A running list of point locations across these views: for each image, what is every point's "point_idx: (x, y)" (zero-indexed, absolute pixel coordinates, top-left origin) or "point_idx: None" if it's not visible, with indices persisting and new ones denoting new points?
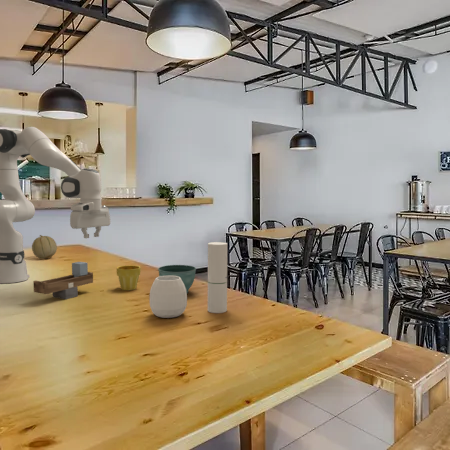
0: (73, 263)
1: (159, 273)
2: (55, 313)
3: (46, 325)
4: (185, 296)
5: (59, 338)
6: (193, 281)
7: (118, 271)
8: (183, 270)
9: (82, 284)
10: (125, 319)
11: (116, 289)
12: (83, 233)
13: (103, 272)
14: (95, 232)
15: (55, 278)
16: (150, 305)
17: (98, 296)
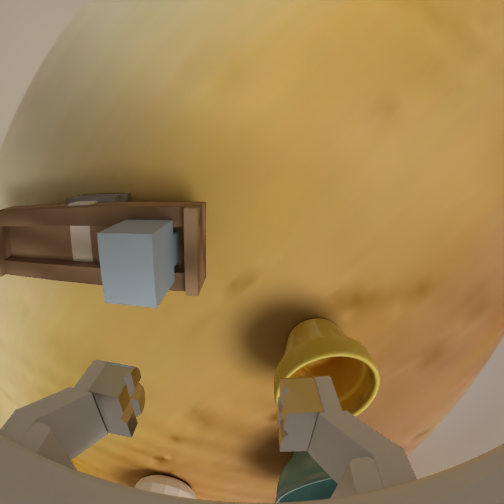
0: (98, 247)
1: (293, 480)
2: (29, 330)
3: (6, 360)
4: None
5: (12, 403)
6: (334, 487)
7: (276, 379)
8: None
9: None
10: (105, 448)
11: (284, 314)
12: (63, 396)
13: (478, 73)
14: (320, 420)
15: (54, 211)
16: (135, 486)
17: (173, 325)
